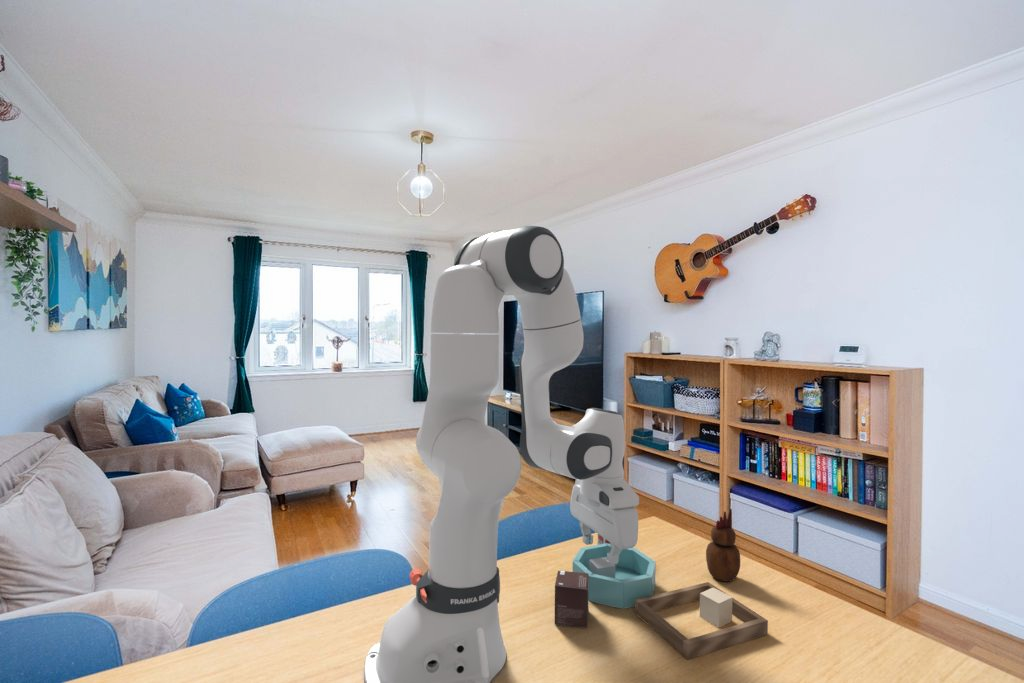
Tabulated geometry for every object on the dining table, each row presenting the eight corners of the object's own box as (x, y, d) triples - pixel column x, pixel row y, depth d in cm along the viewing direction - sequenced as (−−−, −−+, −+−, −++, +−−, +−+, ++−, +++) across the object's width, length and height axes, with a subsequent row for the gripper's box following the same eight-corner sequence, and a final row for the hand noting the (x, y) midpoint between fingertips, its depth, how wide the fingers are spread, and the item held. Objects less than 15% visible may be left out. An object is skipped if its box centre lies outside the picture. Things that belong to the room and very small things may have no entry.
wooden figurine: (733, 572, 107) (734, 505, 107) (743, 585, 101) (744, 515, 101) (702, 570, 108) (703, 504, 107) (710, 583, 102) (711, 513, 102)
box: (587, 630, 86) (587, 589, 86) (553, 625, 87) (554, 585, 87) (588, 610, 92) (589, 572, 92) (557, 606, 93) (557, 569, 93)
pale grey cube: (597, 590, 97) (598, 568, 97) (588, 580, 101) (589, 559, 101) (615, 587, 98) (615, 565, 98) (605, 577, 102) (605, 557, 102)
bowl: (602, 614, 90) (602, 587, 90) (561, 573, 105) (562, 551, 105) (670, 597, 97) (671, 572, 96) (623, 561, 112) (623, 540, 111)
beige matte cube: (718, 628, 87) (718, 603, 87) (699, 616, 90) (699, 593, 90) (731, 621, 89) (732, 597, 89) (712, 610, 92) (713, 587, 92)
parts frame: (687, 659, 78) (687, 644, 78) (634, 612, 91) (635, 599, 91) (767, 634, 85) (767, 620, 85) (708, 594, 98) (708, 582, 98)
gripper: (564, 473, 108) (562, 534, 108) (617, 503, 89) (614, 577, 89) (588, 471, 110) (586, 531, 110) (645, 500, 91) (642, 572, 91)
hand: (599, 552), depth 99 cm, fingers open, 8 cm apart
